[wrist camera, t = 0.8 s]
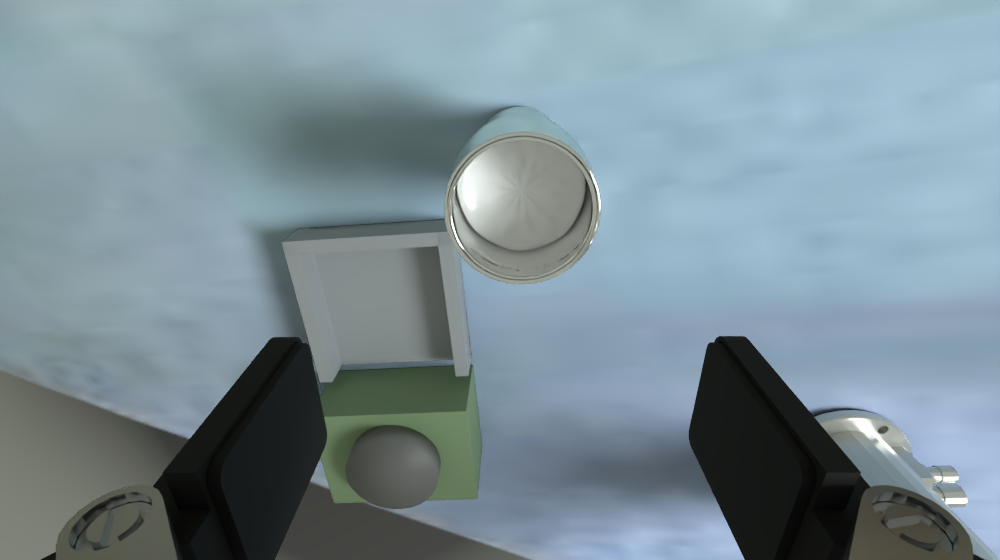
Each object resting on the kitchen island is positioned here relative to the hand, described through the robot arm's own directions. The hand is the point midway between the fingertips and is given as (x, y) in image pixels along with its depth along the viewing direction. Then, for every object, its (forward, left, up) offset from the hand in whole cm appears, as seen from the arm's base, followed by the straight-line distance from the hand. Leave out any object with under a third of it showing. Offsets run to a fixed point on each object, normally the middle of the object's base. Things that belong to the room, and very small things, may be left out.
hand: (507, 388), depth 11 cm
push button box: (+10, +14, -25) cm, 31 cm away
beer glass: (-1, -1, -25) cm, 25 cm away
